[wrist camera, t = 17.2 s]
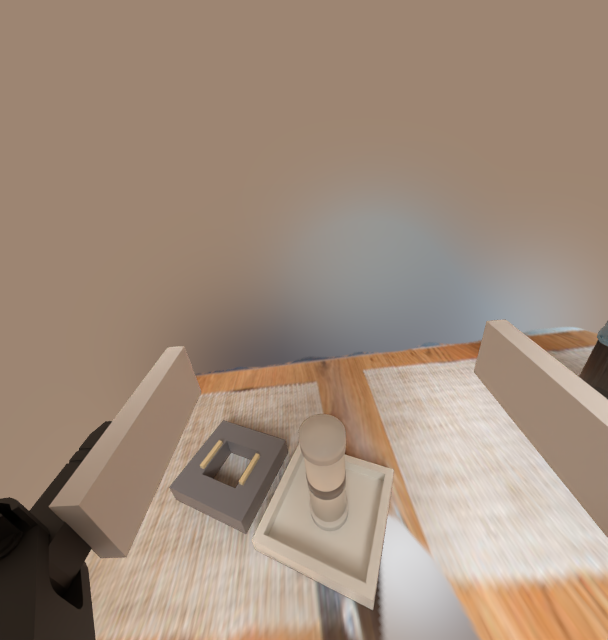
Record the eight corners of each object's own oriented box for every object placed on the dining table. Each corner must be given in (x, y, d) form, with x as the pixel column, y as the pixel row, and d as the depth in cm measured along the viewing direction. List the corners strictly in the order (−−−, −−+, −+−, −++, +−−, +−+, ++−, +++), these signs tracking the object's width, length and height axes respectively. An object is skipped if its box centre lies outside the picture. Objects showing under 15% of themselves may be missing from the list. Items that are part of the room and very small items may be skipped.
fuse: (318, 485, 39) (309, 409, 31) (352, 498, 37) (351, 420, 29) (304, 521, 35) (290, 445, 27) (341, 538, 33) (337, 461, 25)
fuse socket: (227, 432, 49) (222, 417, 47) (287, 452, 44) (284, 437, 43) (176, 499, 40) (167, 484, 38) (246, 534, 35) (240, 519, 33)
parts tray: (301, 450, 44) (300, 440, 43) (393, 480, 39) (393, 469, 38) (255, 549, 33) (251, 540, 32) (373, 610, 28) (373, 601, 27)
